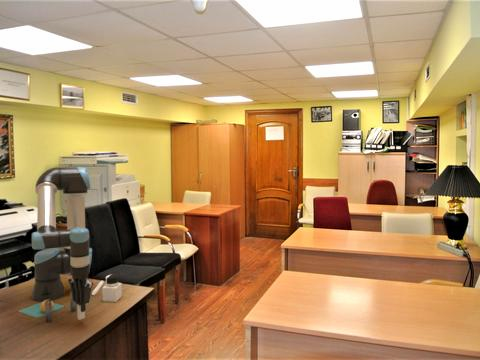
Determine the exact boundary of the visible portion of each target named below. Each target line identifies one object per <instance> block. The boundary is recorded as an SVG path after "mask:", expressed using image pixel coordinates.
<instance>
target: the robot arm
mask: <svg viewBox="0 0 480 360" xmlns="http://www.w3.org/2000/svg"><path fill="white" fill-rule="evenodd" d="M89 190H91V180H90V175H89V172H88V169H87V168H86V167H81V166H76V167H75V166H71V167H69V166H68V167H51V168H49V169H46V170H45V171H44V172H43V173H42V174H41V175H40V176H39V177H38V178H37V180H36V183H35V190H34V191H35V193H36V195H37V222H36V223H37V224H36V231H34V232H32V233H31V247H32V249H33V250H39V251H37V252H36V253H35V254H34V257H33V258H34V262H33V265H34V284H33V288H32V291H31V294H30V295H31V300H33V301H37V302H43V301H45V300H52V301H53V300H56V299H60V298H61V297H63V296H64V295H65V294H66V291H65V290H66V289H65V286H64V283H63V281H62V278H61V277H62V275H65V274H70V275H71V276H72V277H71V278H69V279H68V284H69V287H70V292H71V293H72V298H73V301H75V302H76V304H77V311H76V312H77V320H79V321H80V320H83V319H85V318H86V310H87V308H86V304H89V303H90V300H91V295H92V288H93V286H94V282H93V281H90V278H89V274H90V273H91V266H92V265H91V264H92V258H93V257H92V256H93V248H92V247H90V231H89V229H88V228H86V210H85V209H86V208H85V207H86V206H85V205H86V204H85V203H86V202H85V201H86V200H85V197H86V195H87V194H88V191H89ZM58 191H62V195H64V196H65V198H66V226H67V227H66V228H67V229H61V230H60V229H59V230H57V220H56V219H57V214H56V210H57V209H56V194H57V193H58ZM60 248H64V250H61V249H60ZM75 297H76V298H75Z"/></svg>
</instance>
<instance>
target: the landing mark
mask: <svg viewBox="0 0 480 360" xmlns="http://www.w3.org/2000/svg"><path fill="white" fill-rule="evenodd" d="M42 302H43V301H39V302H38V303H36V304H33V305H30V306H28V307H24V308H22V309H19V310H18V311H17V312H19V313H21V314H24V315H27V316H29V317H32V318H35V319H39V318H42V317H43V316H44V317H45V312H43V311H42V310H41V304H42ZM53 303H54V302H53ZM63 308H65V305H62V304H59V303H54V308H53V309H52V313H53V312H55V311H58V310H61V309H63Z"/></svg>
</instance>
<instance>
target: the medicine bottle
mask: <svg viewBox="0 0 480 360" xmlns="http://www.w3.org/2000/svg"><path fill="white" fill-rule="evenodd" d="M101 288H102V289H101V291H102V292H101V293H102V295H101V296H102V302H106V303H107V302H111V303H116V302H118V301H119V299H121V298H122V297H123V289H122V288H123V283H122V282H119V275H117V274H116V273H115V274H109V275H107V276H105V284H104V286H101Z"/></svg>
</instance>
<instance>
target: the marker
mask: <svg viewBox="0 0 480 360" xmlns="http://www.w3.org/2000/svg"><path fill="white" fill-rule="evenodd" d="M104 283H105V282H104V280H100V282H98V284H97V285H96V287H95V288H94V289H93V291H91V295H92V296H96V295H97V294H98V292H99V291H100V289H101V288H102V287H103V285H105V284H104Z"/></svg>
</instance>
